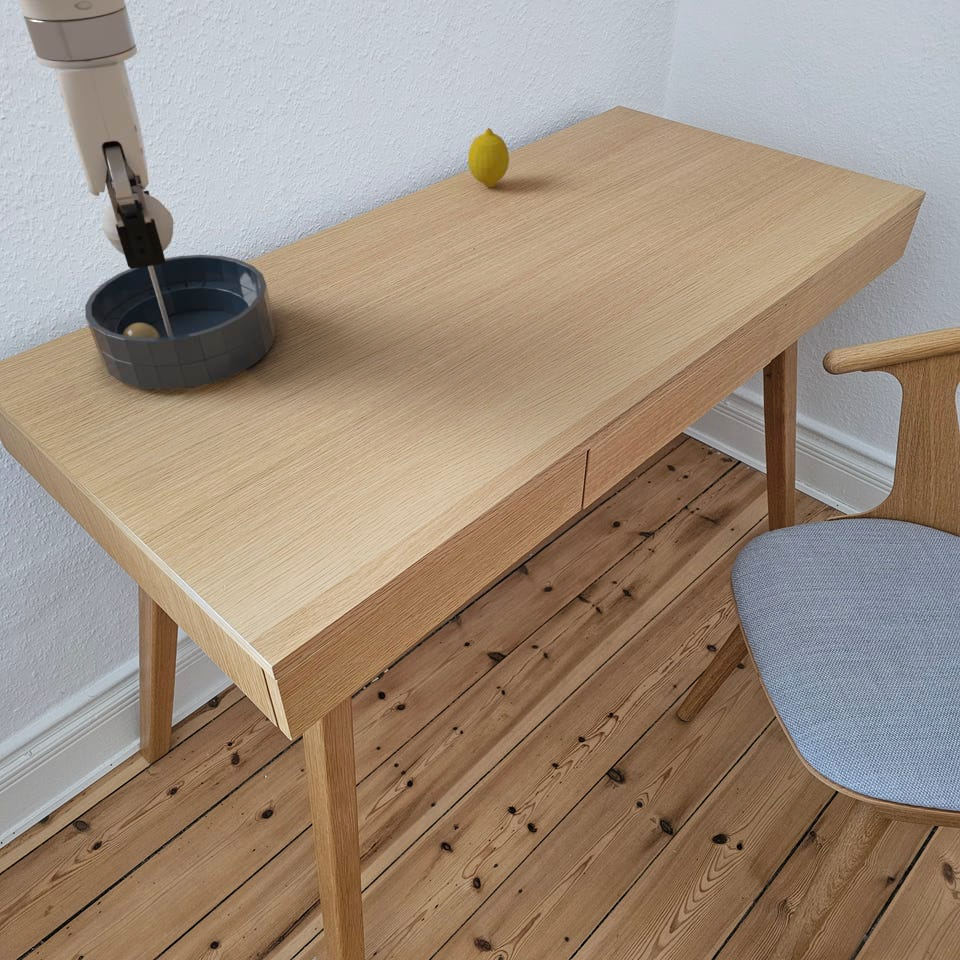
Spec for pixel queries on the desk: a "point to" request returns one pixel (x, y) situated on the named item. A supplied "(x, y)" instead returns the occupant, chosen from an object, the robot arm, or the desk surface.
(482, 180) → the fruit
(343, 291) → the desk surface
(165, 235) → the lollipop
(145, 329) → the bead
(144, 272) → the bowl
